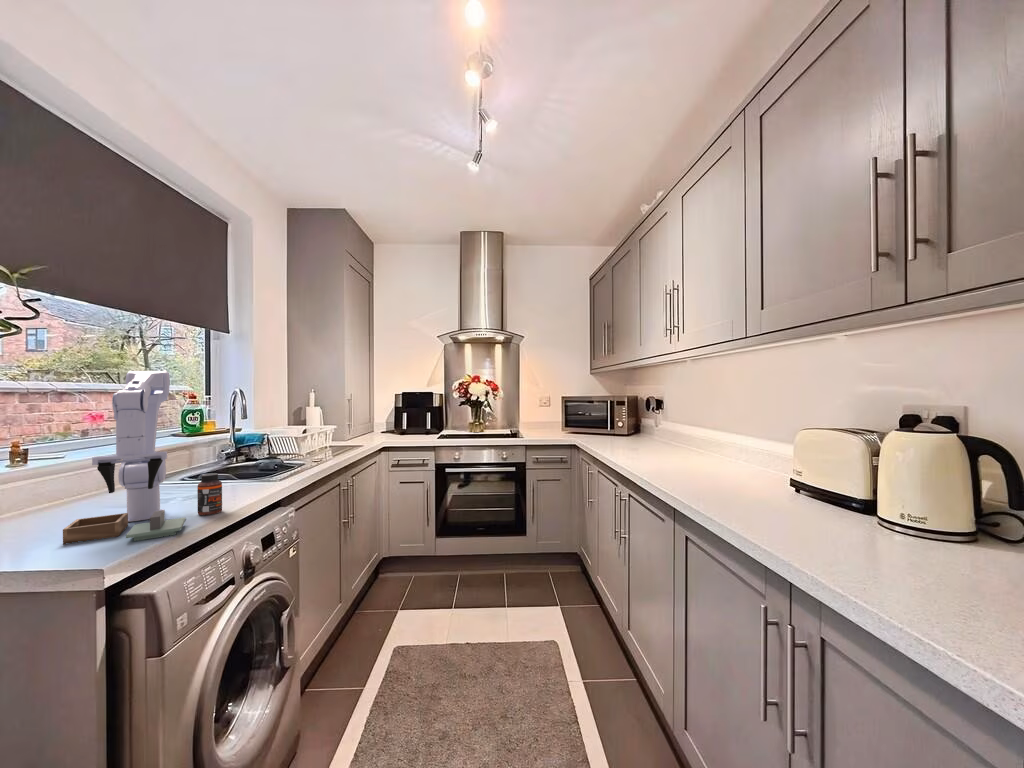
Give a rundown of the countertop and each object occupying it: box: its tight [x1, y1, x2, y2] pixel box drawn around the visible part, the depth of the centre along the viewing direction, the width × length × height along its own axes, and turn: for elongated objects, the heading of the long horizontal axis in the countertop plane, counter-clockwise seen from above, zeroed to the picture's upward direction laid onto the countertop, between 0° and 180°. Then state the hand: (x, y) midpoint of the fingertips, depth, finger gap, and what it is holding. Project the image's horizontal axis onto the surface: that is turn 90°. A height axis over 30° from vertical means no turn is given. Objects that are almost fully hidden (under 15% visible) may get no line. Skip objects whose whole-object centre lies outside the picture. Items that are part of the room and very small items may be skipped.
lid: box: [125, 509, 187, 542], centre depth 112 cm, size 10×10×5 cm
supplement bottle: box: [197, 472, 223, 516], centre depth 130 cm, size 6×6×11 cm
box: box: [62, 512, 129, 545], centre depth 112 cm, size 10×10×4 cm
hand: (131, 490), depth 114 cm, fingers open, 7 cm apart
